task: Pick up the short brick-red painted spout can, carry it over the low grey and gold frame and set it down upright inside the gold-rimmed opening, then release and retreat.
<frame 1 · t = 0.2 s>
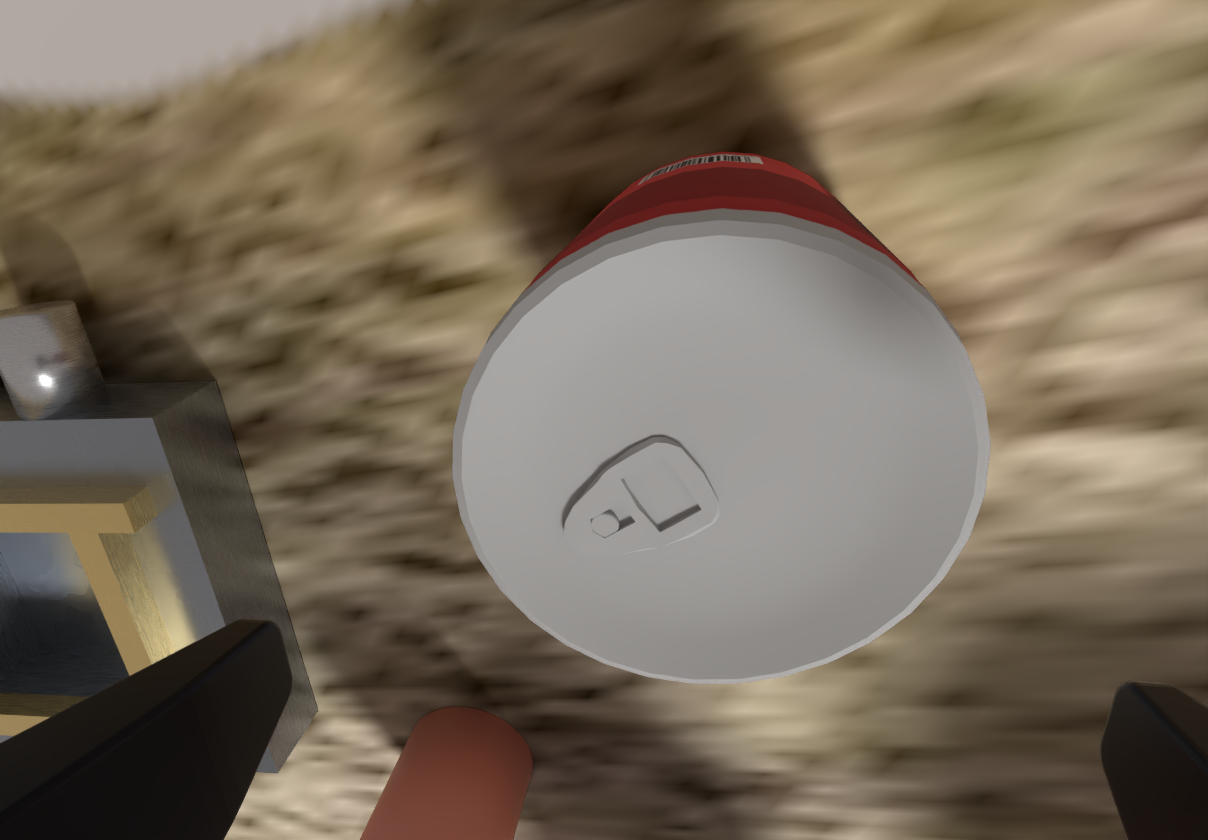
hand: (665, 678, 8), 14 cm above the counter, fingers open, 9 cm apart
canned food: (714, 293, 21), on the counter
grey and gold frame: (102, 560, 28), on the counter
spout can: (470, 755, 30), on the counter
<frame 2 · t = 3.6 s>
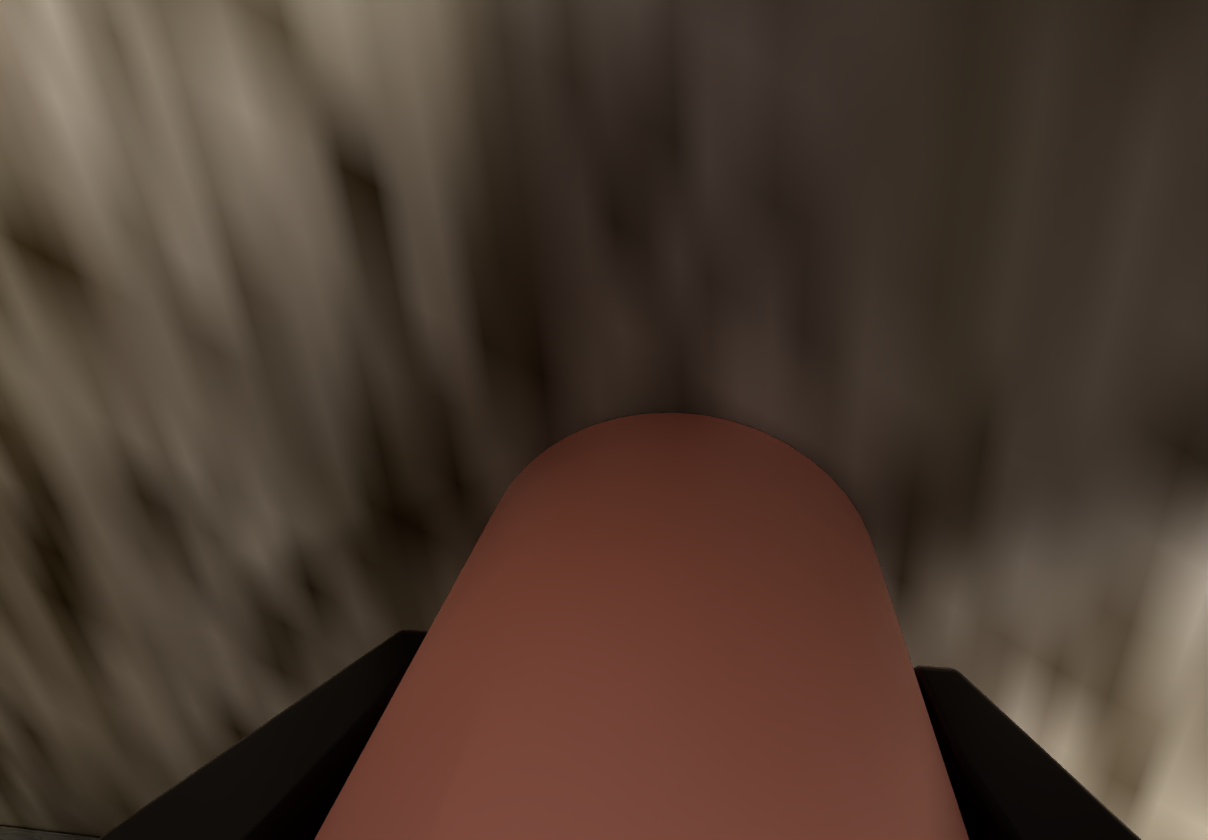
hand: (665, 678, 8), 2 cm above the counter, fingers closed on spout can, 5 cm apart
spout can: (673, 593, 10), on the counter, touching gripper
when the fingers open (4 cm above the counter, at t = 8.4 s): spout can drops 3 cm, resting on grey and gold frame.
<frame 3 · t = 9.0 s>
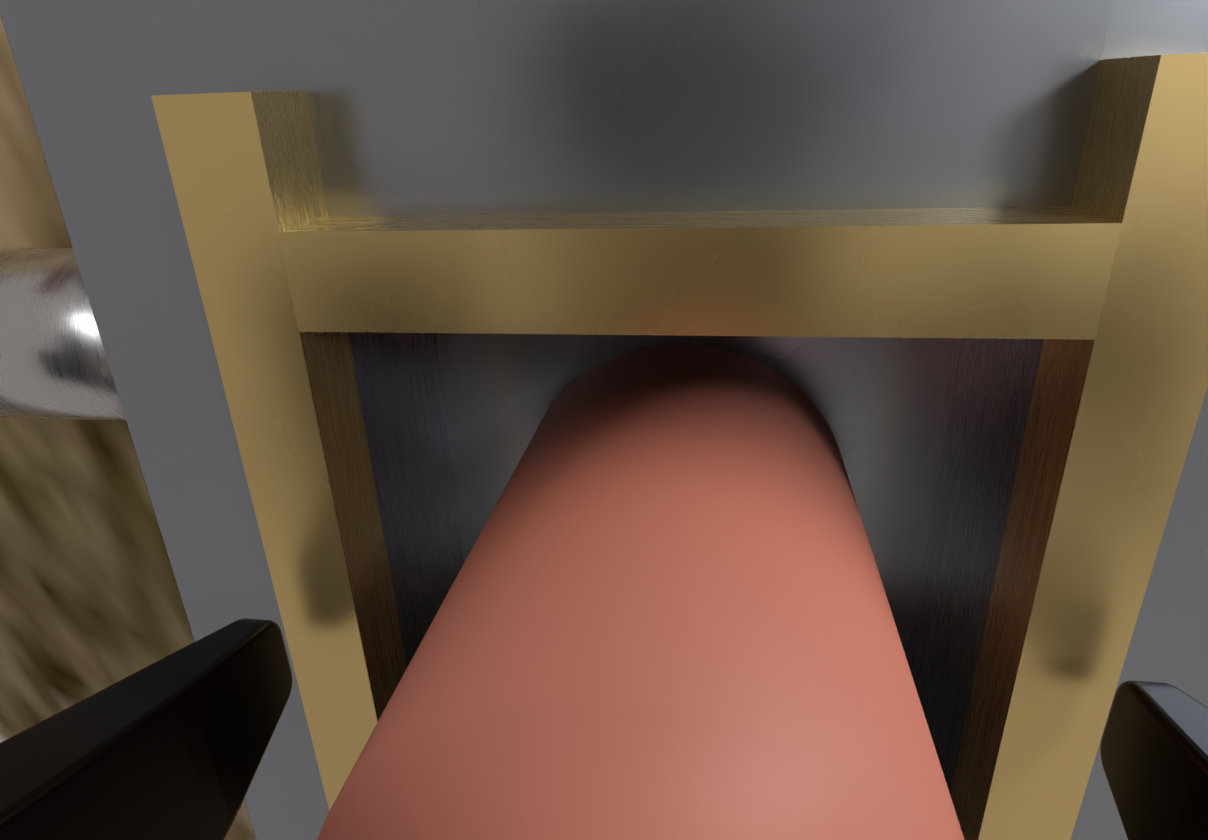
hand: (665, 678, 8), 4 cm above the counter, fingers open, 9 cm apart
grey and gold frame: (683, 484, 12), on the counter
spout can: (681, 496, 12), resting on grey and gold frame
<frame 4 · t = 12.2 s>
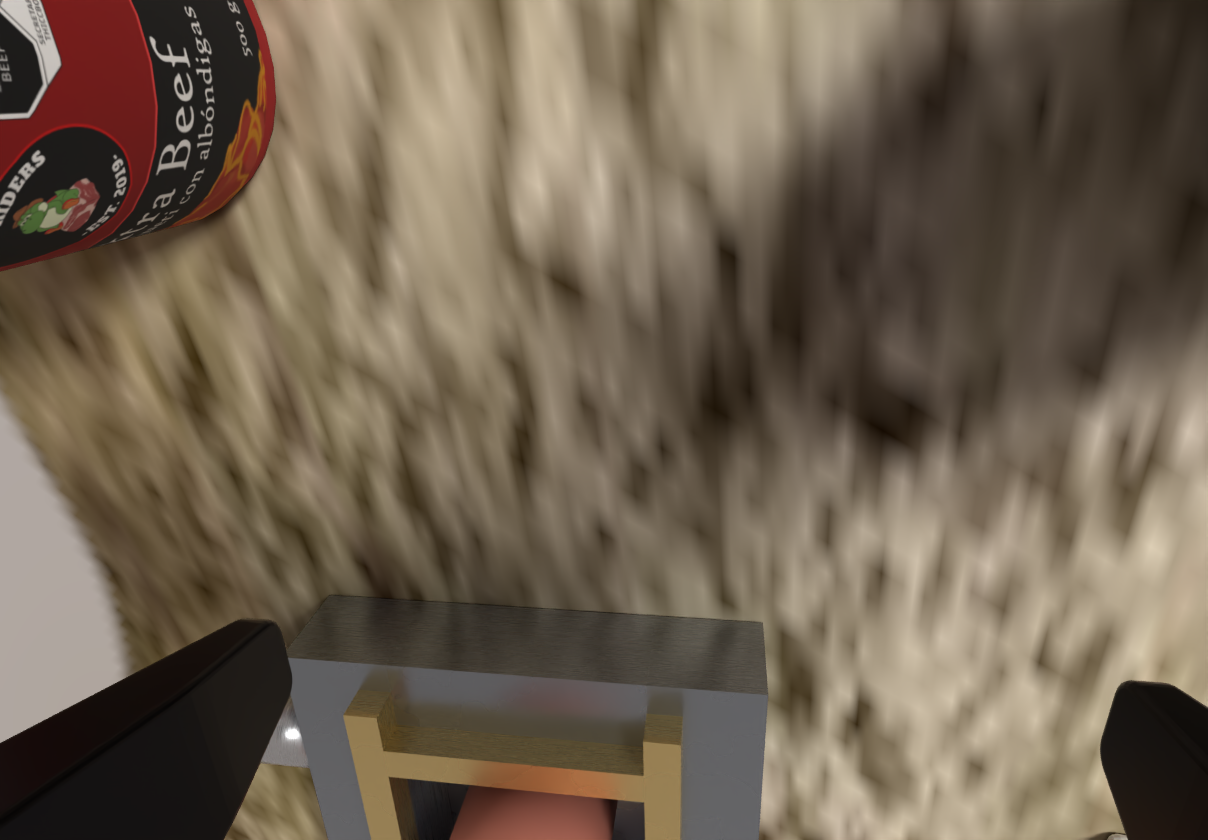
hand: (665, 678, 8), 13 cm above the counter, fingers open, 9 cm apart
canned food: (145, 60, 19), on the counter
grey and gold frame: (550, 770, 27), on the counter
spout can: (547, 779, 26), resting on grey and gold frame
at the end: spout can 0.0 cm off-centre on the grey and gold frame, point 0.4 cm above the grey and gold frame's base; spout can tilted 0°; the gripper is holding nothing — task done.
